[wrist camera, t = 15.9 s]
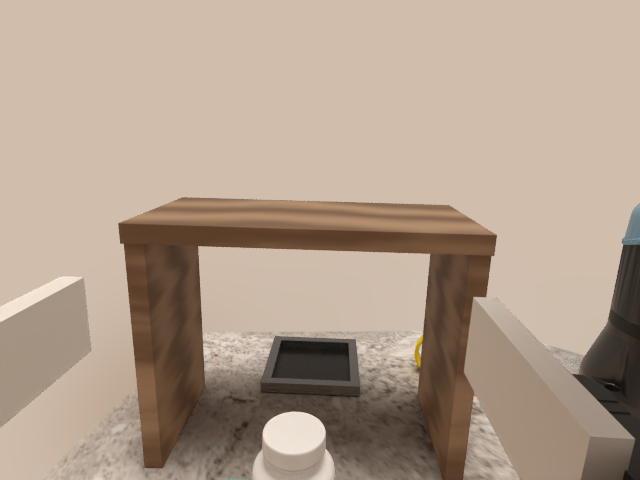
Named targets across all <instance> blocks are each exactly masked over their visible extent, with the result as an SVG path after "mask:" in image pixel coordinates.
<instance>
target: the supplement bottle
mask: <svg viewBox="0 0 640 480" xmlns="http://www.w3.org/2000/svg"><path fill="white" fill-rule="evenodd" d="M252 480H335V466H334V462H333V459H332V457H331V455H330V453H329V452H328V451H327V449H326V431H325V427H324V425H323V423H322V422H321V421H320V420H319V419H318V418H316V417H315V416H313V415H311V414H308V413H304V412H286V413H282V414H279V415H277V416H275V417H273V418H272V419H270V420H269V421H268V422H267V424H266V425H265V427H264V429H263V434H262V450H261V451H260V452H259V454H258V455H257V457H256V459H255V461H254V464H253V469H252Z"/></svg>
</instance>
